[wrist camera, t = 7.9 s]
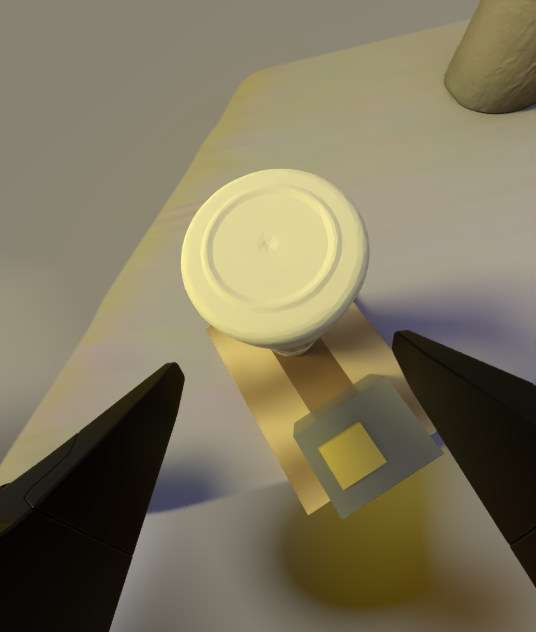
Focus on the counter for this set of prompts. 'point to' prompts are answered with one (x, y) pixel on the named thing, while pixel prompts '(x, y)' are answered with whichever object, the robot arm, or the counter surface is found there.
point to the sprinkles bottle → (275, 259)
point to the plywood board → (310, 387)
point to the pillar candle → (496, 58)
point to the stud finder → (363, 443)
